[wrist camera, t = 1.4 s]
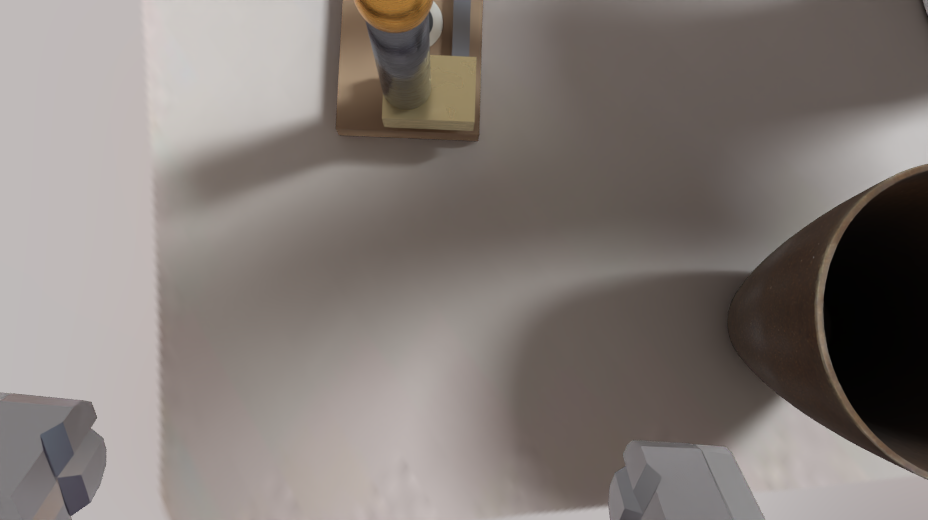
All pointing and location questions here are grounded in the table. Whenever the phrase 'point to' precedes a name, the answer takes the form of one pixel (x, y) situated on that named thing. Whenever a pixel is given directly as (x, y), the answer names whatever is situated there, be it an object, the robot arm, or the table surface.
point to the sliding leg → (417, 69)
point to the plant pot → (849, 320)
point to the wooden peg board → (359, 82)
